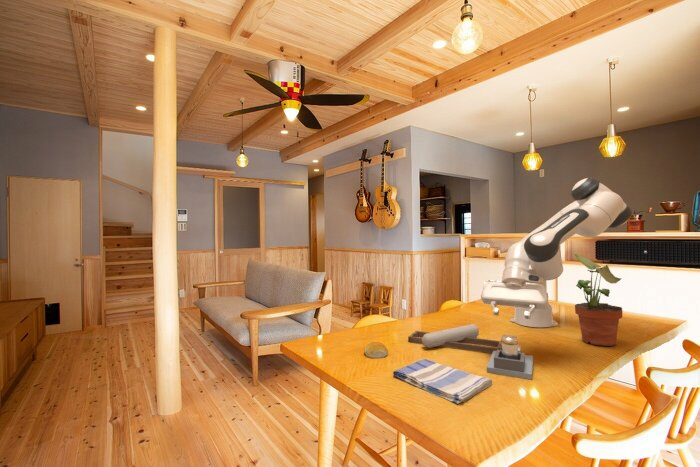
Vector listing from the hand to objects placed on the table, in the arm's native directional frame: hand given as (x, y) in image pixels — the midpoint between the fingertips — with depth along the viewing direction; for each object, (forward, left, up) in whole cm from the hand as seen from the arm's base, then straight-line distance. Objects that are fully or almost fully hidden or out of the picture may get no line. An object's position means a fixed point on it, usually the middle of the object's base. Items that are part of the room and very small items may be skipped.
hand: (511, 316), depth 110 cm
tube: (-10, -22, -14) cm, 28 cm away
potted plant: (-33, +27, -15) cm, 45 cm away
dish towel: (+23, -17, -16) cm, 33 cm away
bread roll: (+12, -43, -15) cm, 47 cm away
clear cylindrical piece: (+7, 0, -13) cm, 15 cm away
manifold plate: (+4, 0, -15) cm, 15 cm away
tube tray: (-10, -21, -15) cm, 27 cm away
